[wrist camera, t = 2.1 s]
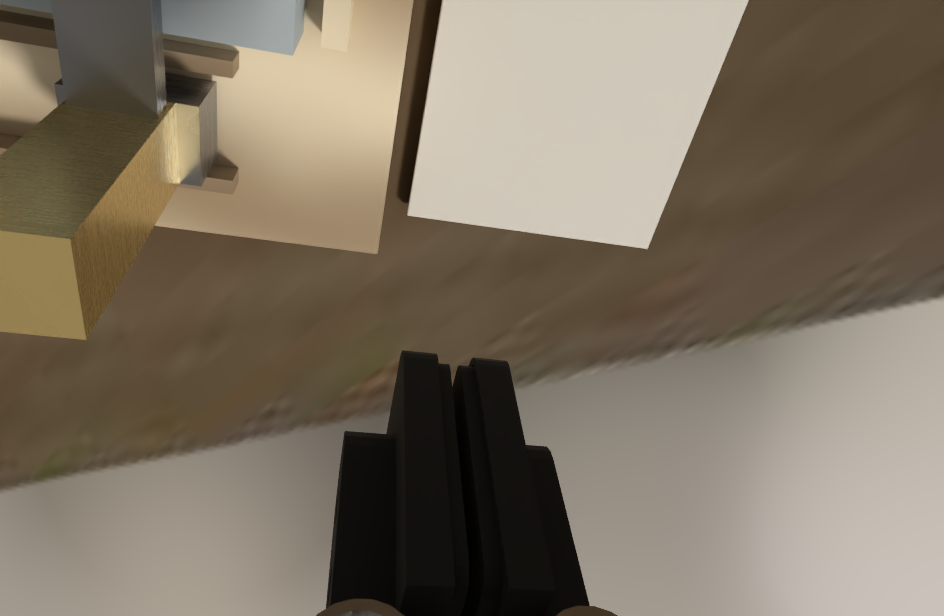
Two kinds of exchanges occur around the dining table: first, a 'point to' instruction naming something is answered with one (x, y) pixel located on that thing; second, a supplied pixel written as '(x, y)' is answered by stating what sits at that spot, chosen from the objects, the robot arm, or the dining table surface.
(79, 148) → the latch
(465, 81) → the mat
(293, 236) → the tan box base
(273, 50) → the cover
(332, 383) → the dining table surface
